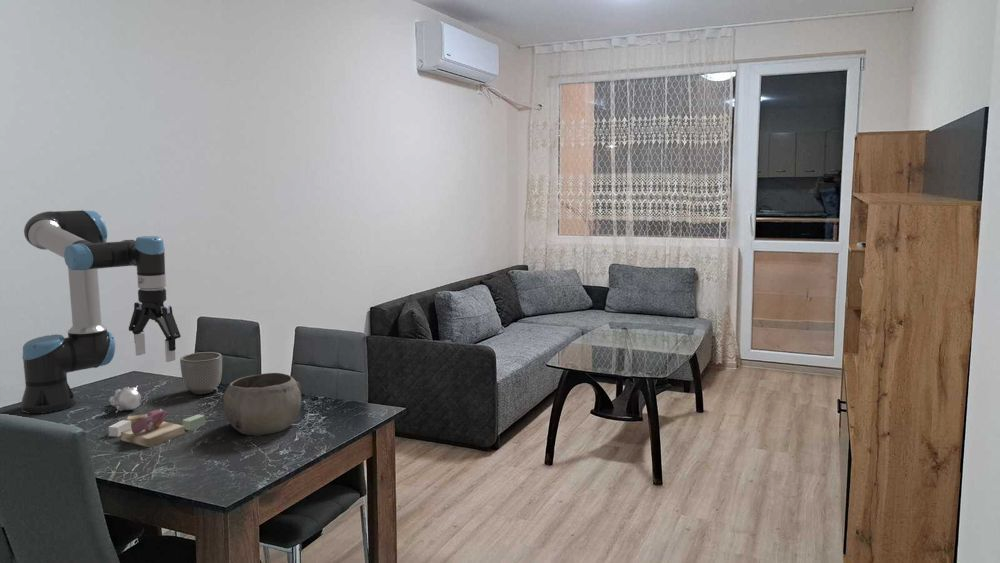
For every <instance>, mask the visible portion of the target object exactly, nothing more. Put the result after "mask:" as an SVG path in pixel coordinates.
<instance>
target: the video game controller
mask: <svg viewBox="0 0 1000 563" xmlns="http://www.w3.org/2000/svg"><path fill="white" fill-rule="evenodd" d="M146 414H147V415H145V416H144V417H143V418H142V419H141V420H140V421H139V422H138V423H137V424H135V425H134V426H133V428H132V432H133V433H134V434H137V433H140V432H141V431H143V430H144V429H145V430H146V431H147V432H149V431H151V430H152V428H153V427H155V428H158V427H159V426H160V425H161V423H162V422H163V421H164V422H166V420H168V417H169V414H170V413H169V412H168V411H167V410H164V409H162V408H159V409H154V410H150V411H149V412H148V413H146Z"/></svg>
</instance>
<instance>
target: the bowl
mask: <svg viewBox="0 0 1000 563" xmlns="http://www.w3.org/2000/svg"><path fill="white" fill-rule="evenodd" d="M301 389H302V387H301V385H300V383H299V381H297V380H295V378H294V377H292V375H289V374H285V373H281V372H267V373H261V374H260V373H259V374H254V375H253V374H252V375H247V376H244V377H240V378H237V379H236V380H234V381H232V382H231V383H229V385H228V386H227V387H226V390H225V392H222V396H221V400H223V409H224V410H223V411H224V415H225V417H226V419H227V421H228V423H230V426H232V427H233V428H234V429H235V430H236V431H237V432H239V433H240V434H243V435H248V436H263V435H264V436H265V435H269V434H270V435H271V434H274V433H275V434H276V433H279V432H281V431H284V430H286V429H288V428H289V427H291V426H292V425H293V423H294V422H295V420H296V419H297V417H298V415H299V413H300V410H301V406H302V394H301V393H302V392H301Z"/></svg>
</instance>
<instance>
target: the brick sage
mask: <svg viewBox="0 0 1000 563" xmlns="http://www.w3.org/2000/svg"><path fill="white" fill-rule="evenodd" d="M181 425H182V426H184V428H185V431H186V430H187V431H191V430H194V429H197V428H200V427H202V426H205V425H206V415H203V414H195V415H192V416H189V417H187V418H184V419H182V424H181Z"/></svg>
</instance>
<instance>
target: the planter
mask: <svg viewBox="0 0 1000 563" xmlns="http://www.w3.org/2000/svg"><path fill="white" fill-rule="evenodd" d="M179 362H180V363H179V364H180V371H181V378H182V383H183V385H184V386H185V388H186V389H187V390H189V391H191V392H192V394H194V395H207V394H211V393H213V392H214V390H215V388H218V386H219V385H220V384H221V381H222V375H223V354H221V353H220V352H215V351H202V352H193V353H188V354H184V355H183V356H181V357H179Z"/></svg>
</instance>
